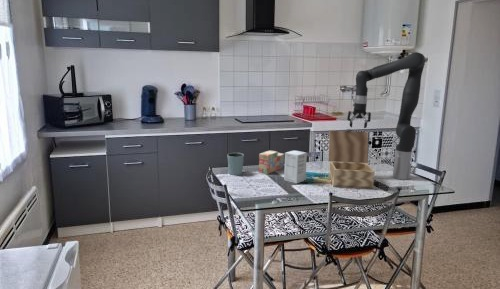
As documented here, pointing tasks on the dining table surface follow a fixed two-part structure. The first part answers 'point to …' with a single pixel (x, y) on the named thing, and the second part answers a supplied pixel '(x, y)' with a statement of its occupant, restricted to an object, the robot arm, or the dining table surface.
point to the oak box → (351, 175)
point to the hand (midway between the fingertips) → (357, 127)
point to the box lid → (348, 146)
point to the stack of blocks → (270, 161)
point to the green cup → (235, 163)
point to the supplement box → (295, 166)
